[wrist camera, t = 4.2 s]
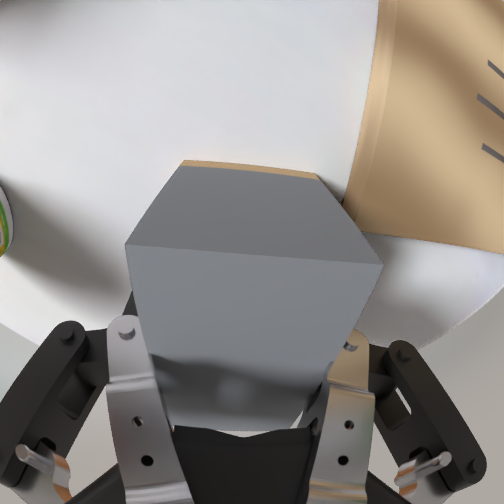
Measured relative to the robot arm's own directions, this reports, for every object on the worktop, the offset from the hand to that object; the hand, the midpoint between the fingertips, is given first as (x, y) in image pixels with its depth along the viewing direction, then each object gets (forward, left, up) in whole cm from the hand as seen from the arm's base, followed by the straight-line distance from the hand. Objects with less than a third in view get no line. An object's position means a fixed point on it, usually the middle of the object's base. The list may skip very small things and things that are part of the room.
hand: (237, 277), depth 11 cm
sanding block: (0, 0, -1) cm, 1 cm away
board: (-10, +11, -1) cm, 15 cm away
